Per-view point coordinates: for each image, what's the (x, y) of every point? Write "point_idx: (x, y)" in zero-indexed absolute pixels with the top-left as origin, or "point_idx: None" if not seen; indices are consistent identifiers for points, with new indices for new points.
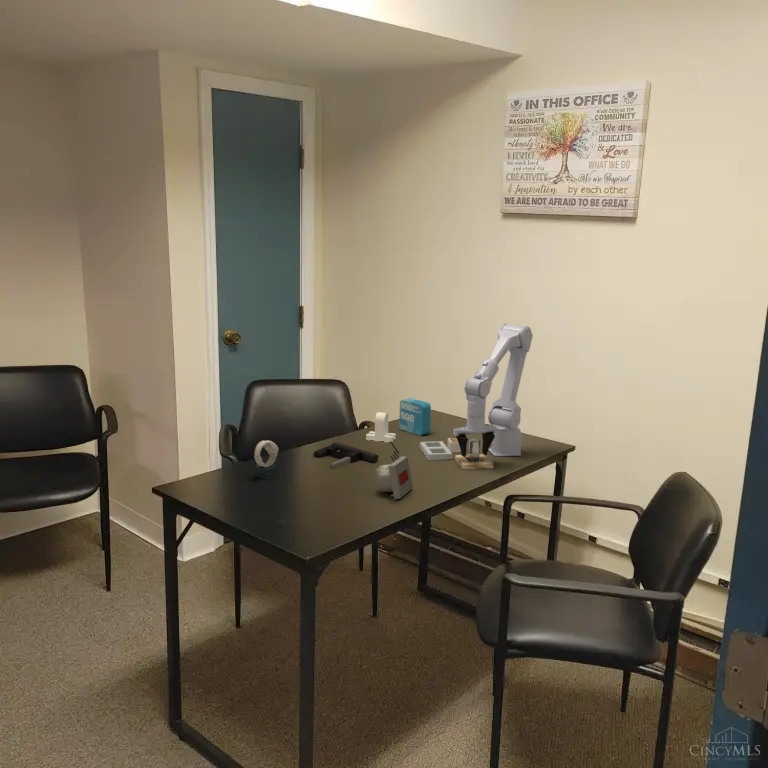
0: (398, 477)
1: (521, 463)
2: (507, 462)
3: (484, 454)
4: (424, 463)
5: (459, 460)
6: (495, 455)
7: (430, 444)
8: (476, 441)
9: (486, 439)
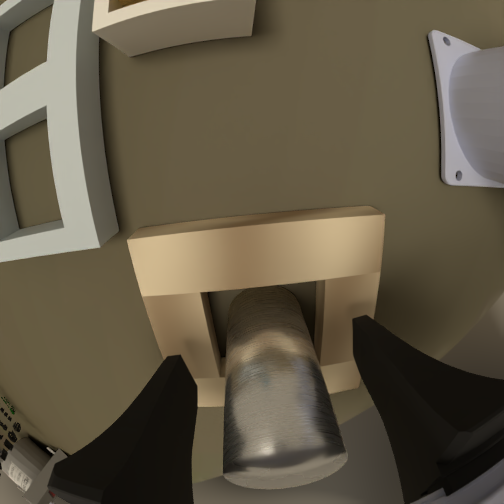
0: (54, 496)
1: (488, 290)
2: (454, 281)
3: (354, 348)
4: (8, 294)
5: (160, 349)
6: (448, 183)
7: (22, 8)
8: (290, 484)
9: (403, 458)
